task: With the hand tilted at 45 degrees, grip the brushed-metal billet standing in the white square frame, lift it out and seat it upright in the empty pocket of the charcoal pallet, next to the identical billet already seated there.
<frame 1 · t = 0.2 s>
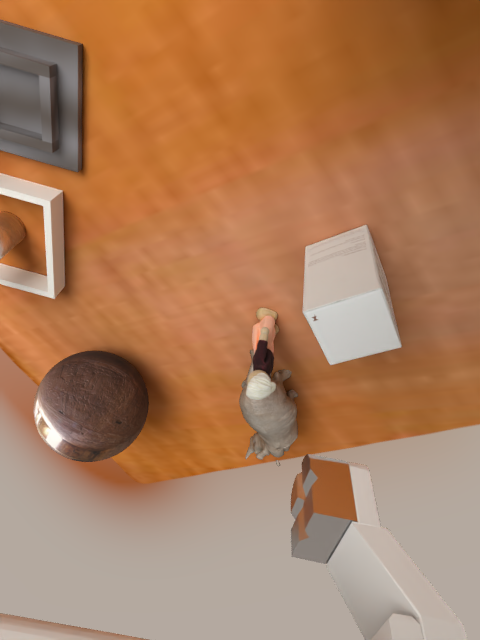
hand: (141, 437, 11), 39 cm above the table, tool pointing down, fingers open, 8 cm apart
rhinoceros figurine: (271, 390, 66), on the table
white square frame: (9, 226, 54), on the table
brown round piece: (113, 366, 67), on the table
supplement box: (346, 260, 51), on the table
grandmother figurine: (267, 323, 58), on the table
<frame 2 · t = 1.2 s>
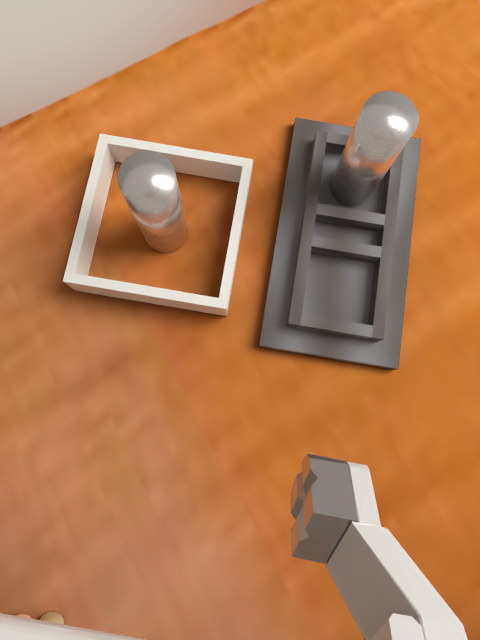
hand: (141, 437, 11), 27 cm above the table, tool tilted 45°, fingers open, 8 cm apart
seated billet: (350, 185, 41), point 1 cm above the table, touching pallet
pallet: (341, 240, 41), on the table
white square frame: (166, 231, 40), on the table
grandmother figurine: (28, 633, 34), on the table
billet: (157, 208, 35), in the white square frame
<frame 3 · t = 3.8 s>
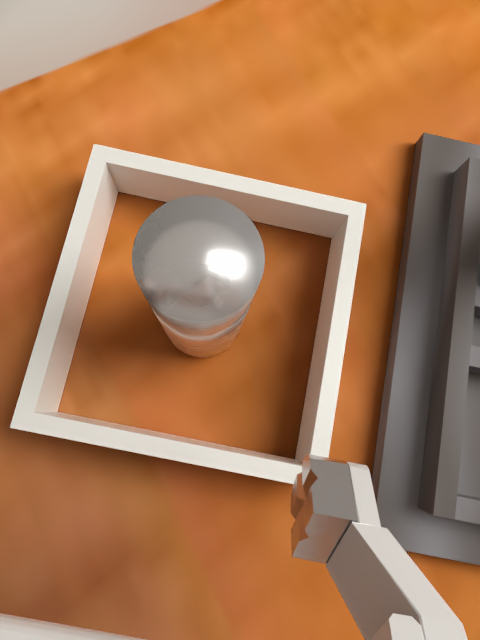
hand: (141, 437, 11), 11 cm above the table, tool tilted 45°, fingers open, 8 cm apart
white square frame: (202, 319, 23), on the table
billet: (201, 296, 18), in the white square frame
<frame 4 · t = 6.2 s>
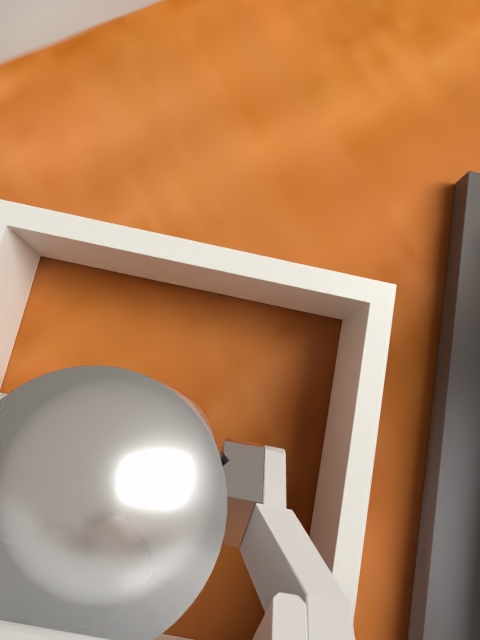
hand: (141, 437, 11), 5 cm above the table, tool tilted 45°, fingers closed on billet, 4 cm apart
white square frame: (158, 444, 16), on the table
billet: (138, 461, 11), in the white square frame, touching gripper
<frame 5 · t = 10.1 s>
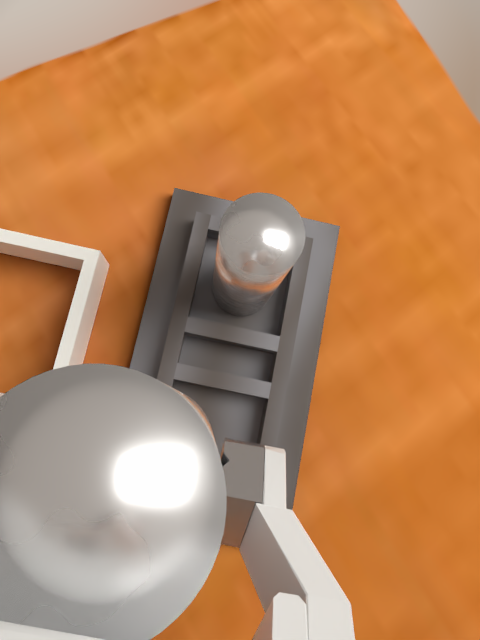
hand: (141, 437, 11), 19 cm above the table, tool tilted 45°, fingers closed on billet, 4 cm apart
seated billet: (241, 287, 30), point 1 cm above the table, touching pallet
pallet: (225, 360, 30), on the table
billet: (137, 460, 11), point 18 cm above the table, touching gripper
when the fingers open (7 cm above the table, at t = 14.3 s): billet stays where it is, resting on pallet.
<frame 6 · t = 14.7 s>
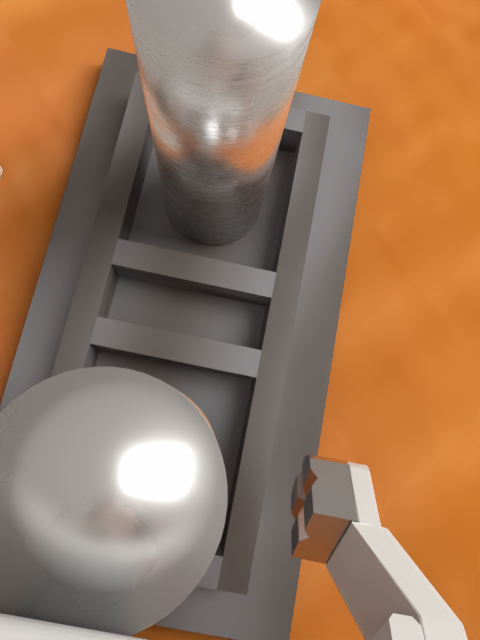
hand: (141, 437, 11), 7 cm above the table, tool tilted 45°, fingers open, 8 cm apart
seated billet: (213, 200, 19), point 1 cm above the table, touching pallet
pallet: (188, 319, 18), on the table
billet: (141, 458, 12), in the pallet, point 6 cm above the table
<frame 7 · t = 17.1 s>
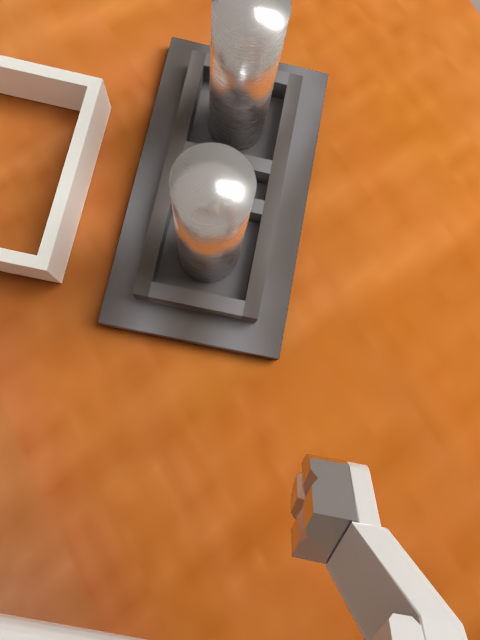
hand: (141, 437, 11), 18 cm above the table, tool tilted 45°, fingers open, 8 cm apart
seated billet: (235, 125, 32), point 1 cm above the table, touching pallet
pallet: (221, 194, 32), on the table
billet: (210, 225, 25), in the pallet, point 6 cm above the table
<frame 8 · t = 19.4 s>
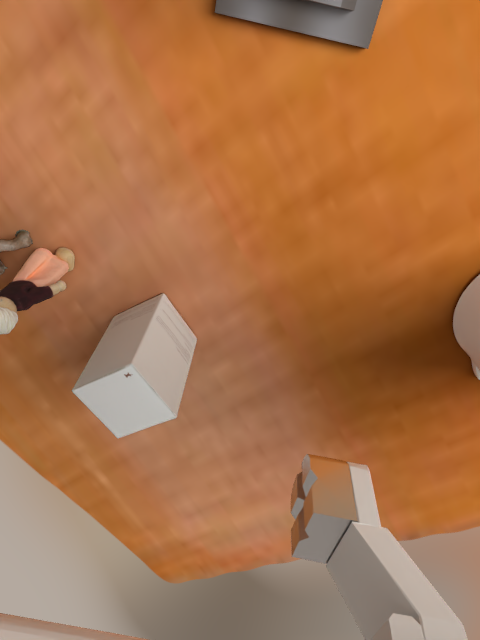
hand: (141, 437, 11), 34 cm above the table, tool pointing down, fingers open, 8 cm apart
supplement box: (156, 327, 51), on the table
grandmother figurine: (52, 260, 48), on the table
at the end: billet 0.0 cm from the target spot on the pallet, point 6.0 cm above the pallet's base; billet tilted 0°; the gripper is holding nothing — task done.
